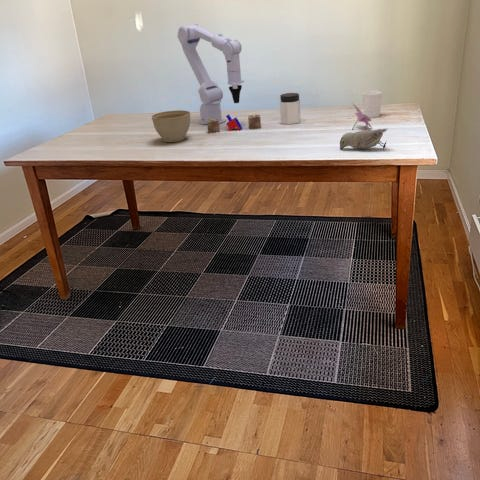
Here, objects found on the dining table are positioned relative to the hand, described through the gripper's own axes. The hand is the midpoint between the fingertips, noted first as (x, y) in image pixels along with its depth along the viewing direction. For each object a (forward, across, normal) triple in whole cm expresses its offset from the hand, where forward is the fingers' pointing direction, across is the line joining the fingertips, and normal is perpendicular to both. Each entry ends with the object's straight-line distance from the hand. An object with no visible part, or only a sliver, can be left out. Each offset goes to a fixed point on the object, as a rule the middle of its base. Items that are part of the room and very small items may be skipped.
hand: (236, 102), depth 220 cm
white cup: (+10, -5, -59) cm, 60 cm away
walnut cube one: (+10, -7, -7) cm, 14 cm away
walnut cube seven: (+10, -7, +11) cm, 16 cm away
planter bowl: (+10, -15, +28) cm, 33 cm away
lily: (+10, -25, -50) cm, 57 cm away
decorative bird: (+10, -54, -43) cm, 70 cm away
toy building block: (+10, -7, +2) cm, 12 cm away
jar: (+10, -3, -23) cm, 26 cm away
